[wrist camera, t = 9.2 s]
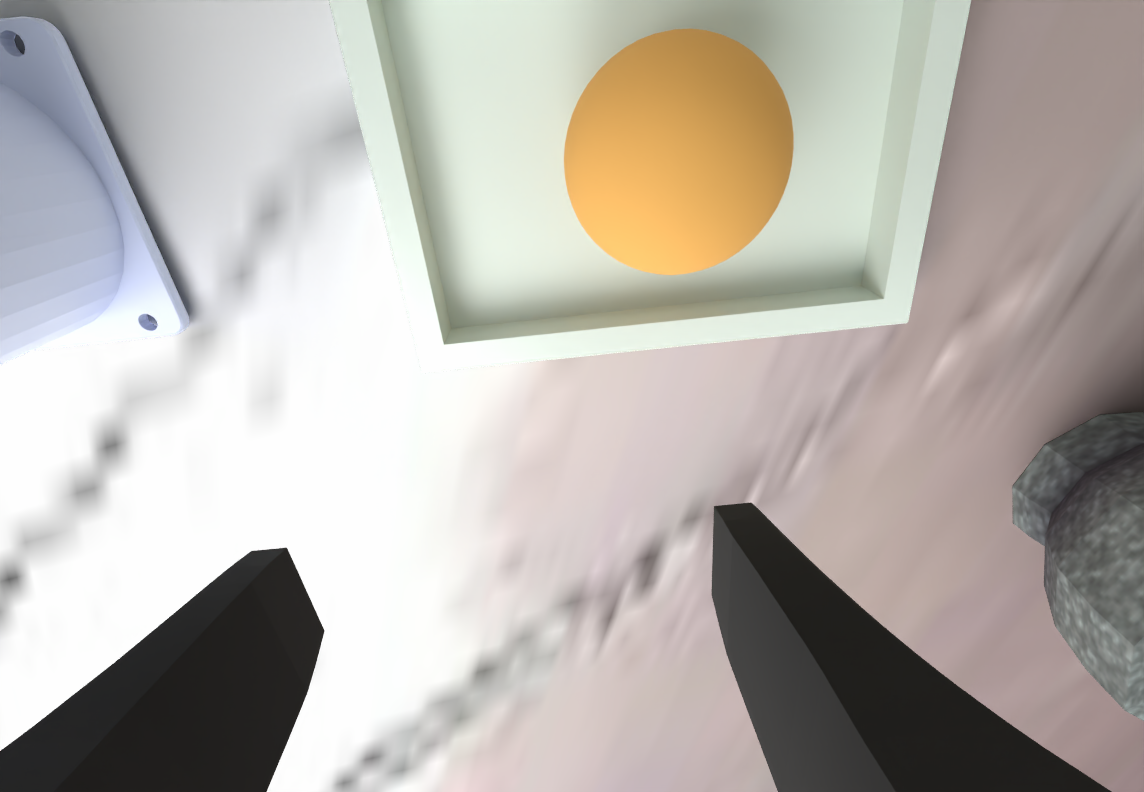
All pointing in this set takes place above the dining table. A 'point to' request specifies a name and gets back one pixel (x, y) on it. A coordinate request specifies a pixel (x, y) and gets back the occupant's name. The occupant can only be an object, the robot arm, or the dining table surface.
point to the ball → (678, 151)
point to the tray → (538, 187)
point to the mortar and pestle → (1093, 545)
